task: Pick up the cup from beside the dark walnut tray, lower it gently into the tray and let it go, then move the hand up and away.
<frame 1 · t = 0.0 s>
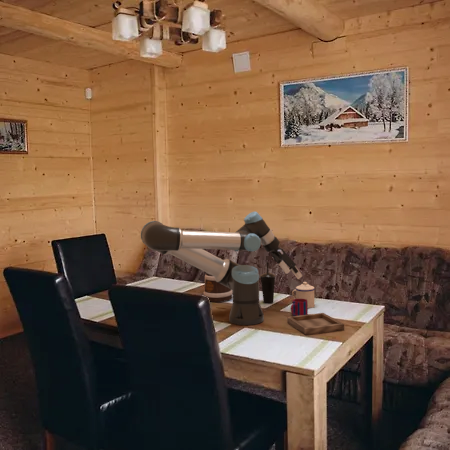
hand: (294, 274, 238), 15 cm above the table, tool tilted 35°, fingers open, 13 cm apart
drinking cup: (268, 302, 248), on the table
cup: (297, 316, 223), on the table
mug: (215, 298, 260), on the table
teacup with lid: (302, 306, 240), on the table
walnut tray: (314, 326, 207), on the table
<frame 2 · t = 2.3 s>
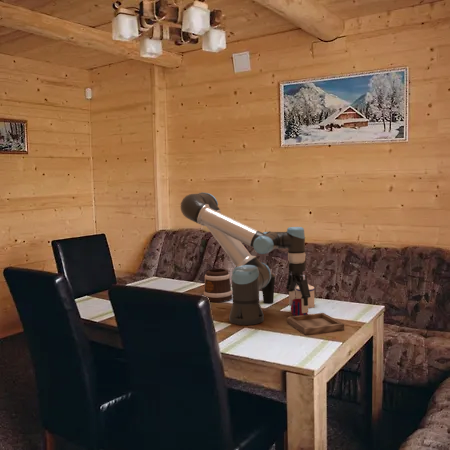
hand: (298, 309, 222), 3 cm above the table, tool pointing down, fingers open, 13 cm apart
nothing on the table moved.
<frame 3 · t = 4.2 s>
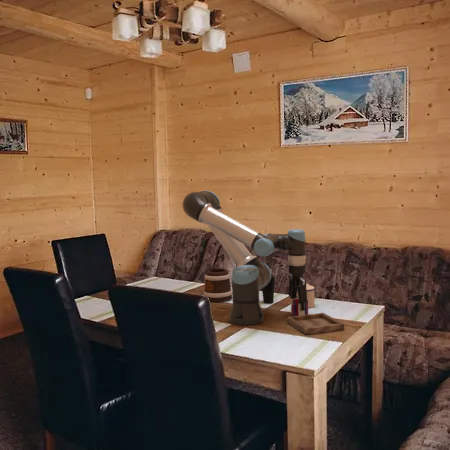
hand: (297, 315, 223), 0 cm above the table, tool pointing down, fingers closed on cup, 7 cm apart
cup: (298, 316, 222), on the table, touching gripper
everything else where it was.
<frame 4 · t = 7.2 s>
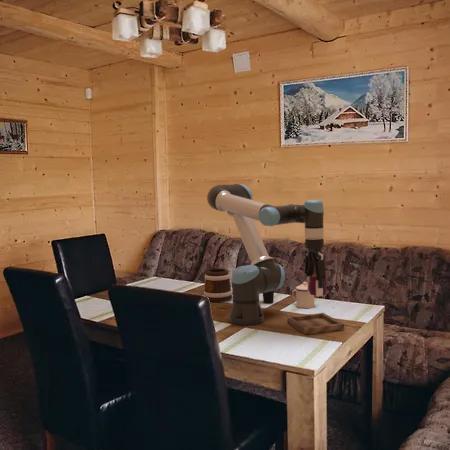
hand: (315, 293, 205), 14 cm above the table, tool pointing down, fingers closed on cup, 7 cm apart
cup: (315, 295, 204), point 13 cm above the table, touching gripper
everything else where it was.
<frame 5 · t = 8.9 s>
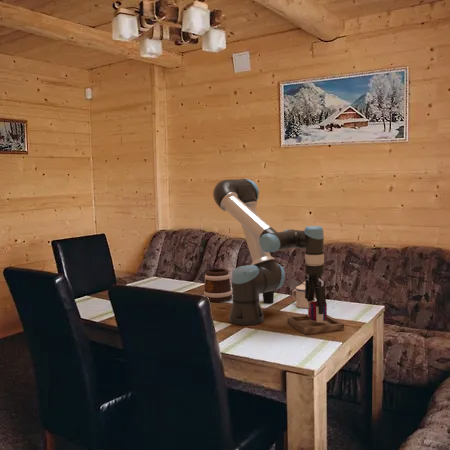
hand: (315, 319, 206), 3 cm above the table, tool pointing down, fingers closed on cup, 7 cm apart
cup: (316, 320, 205), point 3 cm above the table, touching gripper
everything else where it was.
when the fingers open (2 cm above the table, at t = 9.9 s): cup drops 1 cm, resting on walnut tray.
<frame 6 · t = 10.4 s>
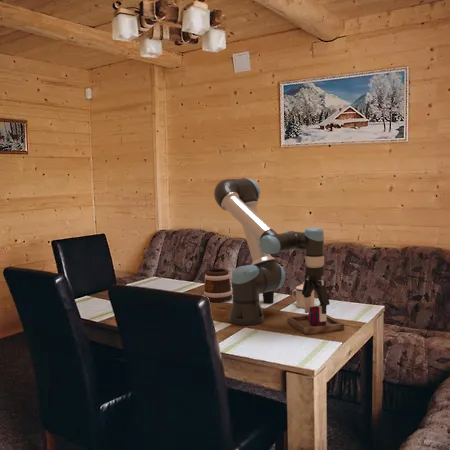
hand: (315, 316, 206), 4 cm above the table, tool pointing down, fingers open, 13 cm apart
cup: (315, 325, 206), point 1 cm above the table, touching walnut tray
everything else where it was.
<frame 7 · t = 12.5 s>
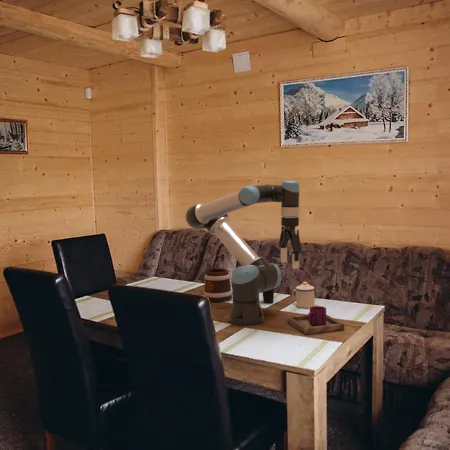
hand: (289, 265, 217), 24 cm above the table, tool pointing down, fingers open, 13 cm apart
nothing on the table moved.
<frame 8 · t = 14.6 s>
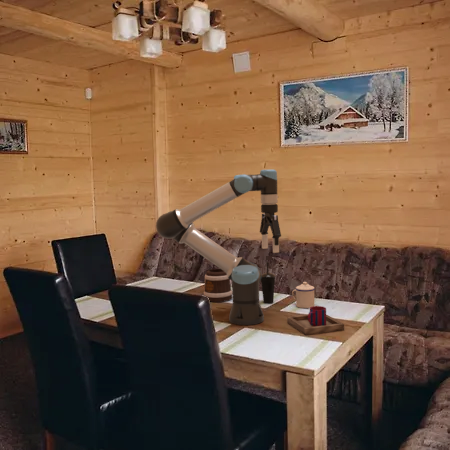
hand: (270, 250, 227), 29 cm above the table, tool pointing down, fingers open, 13 cm apart
nothing on the table moved.
at the end: cup inside the target area on the walnut tray (0.8 cm from its centre), point 0.6 cm above the walnut tray's base; cup tilted 0°; the gripper is holding nothing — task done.
